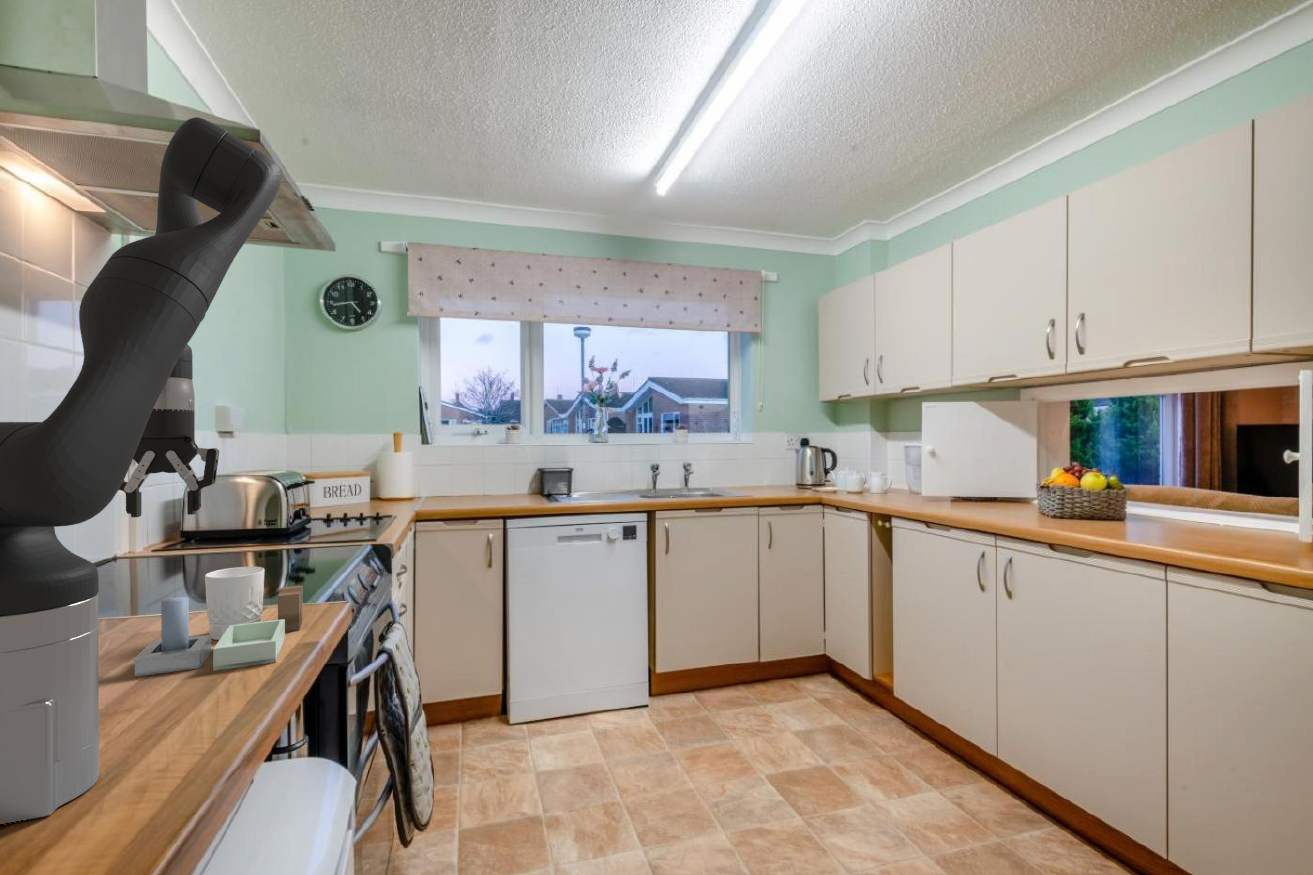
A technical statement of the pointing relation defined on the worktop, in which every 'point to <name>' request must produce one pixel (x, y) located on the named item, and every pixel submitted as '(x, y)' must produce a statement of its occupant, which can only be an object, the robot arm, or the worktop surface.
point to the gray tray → (172, 657)
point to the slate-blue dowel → (175, 624)
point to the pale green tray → (249, 645)
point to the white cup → (233, 598)
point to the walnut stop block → (291, 607)
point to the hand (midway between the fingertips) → (164, 515)
